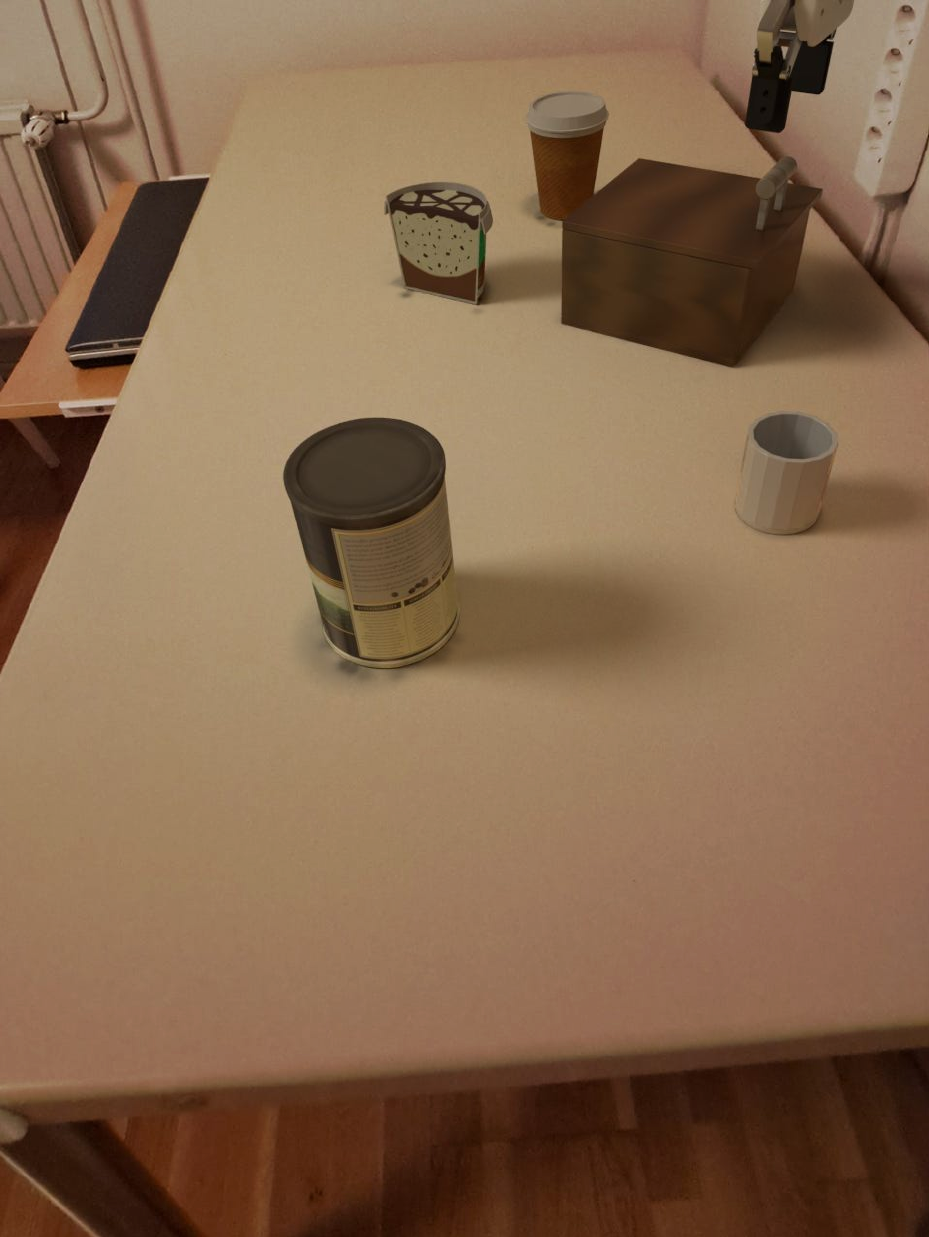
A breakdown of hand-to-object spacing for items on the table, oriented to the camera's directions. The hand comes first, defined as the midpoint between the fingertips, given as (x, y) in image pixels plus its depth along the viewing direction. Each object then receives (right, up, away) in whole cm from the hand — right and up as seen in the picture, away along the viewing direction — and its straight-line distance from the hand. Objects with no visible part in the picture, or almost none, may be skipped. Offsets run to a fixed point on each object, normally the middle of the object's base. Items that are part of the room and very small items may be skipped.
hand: (785, 109), depth 80 cm
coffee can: (-33, -43, -10) cm, 55 cm away
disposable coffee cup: (-15, +7, +36) cm, 39 cm away
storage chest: (-5, -11, +18) cm, 21 cm away
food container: (-28, -6, +25) cm, 38 cm away
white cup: (-2, -34, -5) cm, 35 cm away
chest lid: (-5, -4, +10) cm, 13 cm away
